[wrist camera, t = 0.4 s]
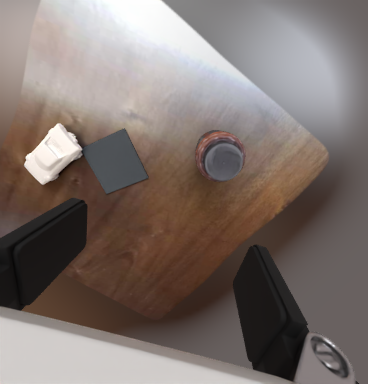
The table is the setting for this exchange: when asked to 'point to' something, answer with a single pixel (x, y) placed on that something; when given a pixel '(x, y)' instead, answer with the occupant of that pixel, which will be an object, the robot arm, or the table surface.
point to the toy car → (53, 154)
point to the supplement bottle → (219, 155)
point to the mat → (115, 161)
